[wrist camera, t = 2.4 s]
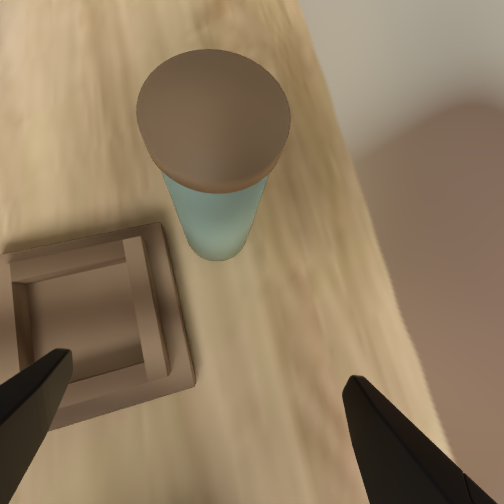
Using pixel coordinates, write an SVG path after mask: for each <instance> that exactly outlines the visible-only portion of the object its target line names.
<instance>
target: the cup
mask: <svg viewBox="0 0 504 504" xmlns="http://www.w3.org/2000/svg"><path fill="white" fill-rule="evenodd" d="M136 114H137V122H138V126H139V129H140V132H141V135H142V137H143V140H144V142H145V145H146V147H147V149H148V152H149V154H150V156H151V158H152V159H153V161H154V162H155V164H156V165H157V166H158V167H159V169H160V170H161V171H162V174H163V177H164V179H165V182H166V185H167V187H168V190H169V193H170V195H171V198H172V201H173V203H174V206H175V209H176V211H177V214H178V217H179V219H180V222H181V225H182V227H183V230H184V233H185V235H186V238H187V241H188V243H189V245H190V247H191V248H192V250H193V251H194V252H195V253H196V254H197V255H199V256H200V257H202V258H204V259H207V260H211V261H224V260H227V259H230V258H232V257H234V256H235V255H236V254H238V253H239V252H240V251H241V249H242V248H243V247H244V245H245V242H246V239H247V237H248V234H249V231H250V228H251V225H252V222H253V219H254V216H255V213H256V210H257V207H258V204H259V201H260V199H261V196H262V193H263V190H264V187H265V184H266V181H267V178H268V175H269V173H270V172H271V171H272V169H273V168H274V167H275V165H276V164H277V162H278V160H279V158H280V156H281V153H282V150H283V148H284V145H285V142H286V139H287V137H288V134H289V129H290V109H289V105H288V101H287V98H286V96H285V94H284V92H283V90H282V88H281V86H280V85H279V84H278V82H277V81H276V80H275V78H274V77H273V76H272V75H271V74H270V73H269V72H268V71H267V70H265V69H264V68H263V67H262V66H260V65H259V64H257V63H256V62H254V61H252V60H250V59H248V58H246V57H244V56H241V55H239V54H236V53H232V52H228V51H222V50H212V49H205V50H195V51H189V52H186V53H182V54H179V55H177V56H174V57H172V58H170V59H169V60H167V61H165V62H164V63H162V64H161V65H159V66H158V67H157V68H156V69H155V70H154V71H153V72H152V73H151V74H150V75H149V77H148V78H147V79H146V81H145V82H144V84H143V86H142V88H141V90H140V93H139V96H138V101H137V112H136Z"/></svg>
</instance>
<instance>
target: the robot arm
mask: <svg viewBox="0 0 504 504" xmlns="http://www.w3.org/2000/svg"><path fill="white" fill-rule="evenodd" d="M72 374H73V357H72V351H71V350H70V349H65V348H55V349H53V350H52V351H50V352H49V353H47V354H46V355H44V356H43V357H41V358H40V359H38V360H37V361H35V362H34V363H32V364H31V365H29V366H28V367H26V368H25V369H23V370H22V371H20V372H19V373H17V374H16V375H14V376H13V377H11V378H10V379H8V380H7V381H5V382H4V383H2V384H1V385H0V504H9V502H10V500H11V498H12V496H13V494H14V493H15V491H16V489H17V487H18V485H19V484H20V482H21V480H22V478H23V476H24V474H25V473H26V471H27V469H28V467H29V465H30V464H31V462H32V460H33V458H34V456H35V454H36V453H37V451H38V449H39V447H40V445H41V443H42V442H43V440H44V438H45V436H46V434H47V432H48V430H49V428H50V426H51V424H52V421H53V419H54V417H55V414H56V412H57V410H58V407H59V405H60V403H61V400H62V398H63V396H64V393H65V391H66V389H67V386H68V384H69V381H70V379H71V377H72ZM342 398H343V403H344V408H345V413H346V418H347V423H348V428H349V432H350V437H351V442H352V446H353V449H354V453H355V456H356V459H357V463H358V466H359V469H360V473H361V476H362V479H363V483H364V486H365V489H366V493H367V496H368V499H369V502H370V504H497V503H496V502H495V501H494V500H493V499H492V498H491V497H490V496H488V494H486V493H485V492H484V491H483V490H482V489H481V488H480V487H479V486H478V485H477V484H476V483H475V482H474V481H473V480H471V479H470V478H469V477H468V476H467V475H466V474H465V473H463V471H462V470H461V469H460V468H459V467H458V466H457V465H456V464H455V463H454V462H453V461H452V460H451V459H450V458H448V457H447V456H446V455H445V454H444V453H443V452H442V451H441V450H440V449H439V448H438V447H437V446H436V445H435V444H434V443H433V442H432V441H431V440H430V439H429V438H428V437H426V436H425V435H424V434H423V433H422V432H421V431H420V430H419V429H418V428H417V427H416V426H415V425H414V424H413V423H412V422H411V421H410V420H409V419H408V418H407V417H406V416H405V415H403V414H402V413H401V412H400V411H399V410H398V409H397V408H396V407H395V406H394V405H393V404H392V403H391V402H390V401H389V400H388V399H387V398H386V397H385V396H384V395H383V394H381V393H380V392H379V391H378V390H377V389H376V388H375V387H374V386H373V385H372V384H371V383H370V382H369V381H368V380H367V379H366V378H365V377H363V376H358V375H352V376H350V378H349V379H348V381H347V383H346V385H345V387H344V389H343V393H342Z"/></svg>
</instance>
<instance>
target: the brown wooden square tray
mask: <svg viewBox="0 0 504 504" xmlns="http://www.w3.org/2000/svg"><path fill="white" fill-rule="evenodd" d="M55 348H65V349H70V350H71V351H72V357H73V374H72V377H71V379H70V381H69V384H68V386H67V389H66V391H65V393H64V396H63V398H62V400H61V403H60V405H59V407H58V410H57V412H56V414H55V417H54V419H53V421H52V424H51V426H50V428H49V430H48V431H52V430H55V429H58V428H61V427H65V426H68V425H71V424H74V423H78V422H81V421H84V420H87V419H91V418H94V417H97V416H101V415H104V414H107V413H110V412H114V411H117V410H120V409H123V408H127V407H130V406H133V405H136V404H140V403H143V402H146V401H150V400H153V399H156V398H159V397H163V396H166V395H169V394H172V393H176V392H179V391H182V390H185V389H189V388H192V387H195V384H196V379H195V374H194V369H193V364H192V360H191V355H190V350H189V345H188V341H187V336H186V331H185V327H184V322H183V317H182V312H181V308H180V303H179V298H178V293H177V289H176V284H175V279H174V274H173V270H172V265H171V260H170V255H169V251H168V246H167V241H166V236H165V232H164V228H163V226H162V224H161V223H160V222H157V223H153V224H148V225H143V226H138V227H133V228H128V229H123V230H118V231H114V232H109V233H104V234H99V235H94V236H89V237H84V238H80V239H75V240H70V241H65V242H60V243H55V244H50V245H45V246H41V247H36V248H31V249H26V250H21V251H16V252H11V253H6V254H2V255H0V385H1V384H2V383H4V382H5V381H7V380H8V379H10V378H11V377H13V376H14V375H16V374H17V373H19V372H20V371H22V370H23V369H25V368H26V367H28V366H29V365H31V364H32V363H34V362H35V361H37V360H38V359H40V358H41V357H43V356H44V355H46V354H47V353H49V352H50V351H52V350H53V349H55Z"/></svg>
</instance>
